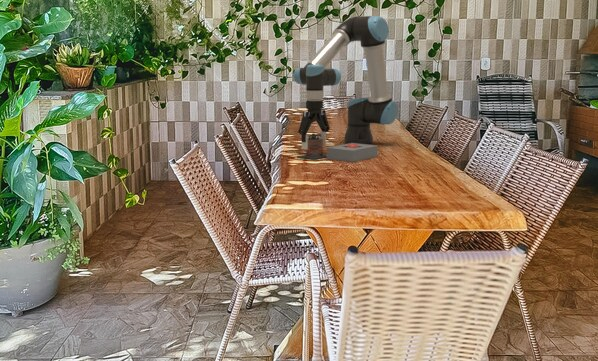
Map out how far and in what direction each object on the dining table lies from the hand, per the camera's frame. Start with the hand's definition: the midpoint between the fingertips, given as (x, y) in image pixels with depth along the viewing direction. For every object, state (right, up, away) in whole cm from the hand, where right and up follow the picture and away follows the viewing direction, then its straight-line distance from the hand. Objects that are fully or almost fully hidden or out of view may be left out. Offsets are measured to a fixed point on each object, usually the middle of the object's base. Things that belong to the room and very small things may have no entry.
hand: (314, 147), depth 314 cm
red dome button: (+17, -4, 0) cm, 18 cm away
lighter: (0, -4, +1) cm, 4 cm away
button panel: (+17, -4, 0) cm, 18 cm away
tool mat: (0, -4, +1) cm, 4 cm away
